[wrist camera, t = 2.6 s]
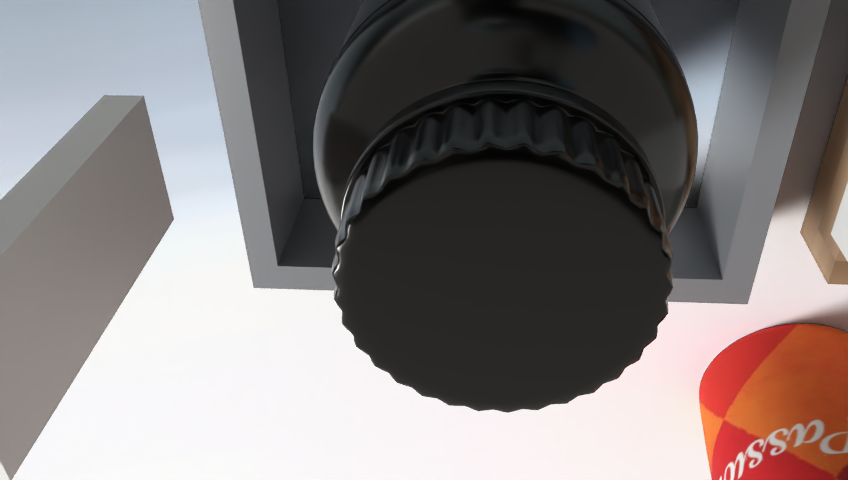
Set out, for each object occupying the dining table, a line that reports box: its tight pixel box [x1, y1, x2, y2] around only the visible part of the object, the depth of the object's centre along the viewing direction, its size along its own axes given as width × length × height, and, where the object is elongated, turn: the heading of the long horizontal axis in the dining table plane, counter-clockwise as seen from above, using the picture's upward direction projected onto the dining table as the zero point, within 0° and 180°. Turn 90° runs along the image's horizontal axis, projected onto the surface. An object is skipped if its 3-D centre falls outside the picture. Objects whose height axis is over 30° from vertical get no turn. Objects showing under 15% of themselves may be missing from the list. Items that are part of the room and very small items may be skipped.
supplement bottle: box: [313, 0, 698, 412], centre depth 16 cm, size 7×7×12 cm
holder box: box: [198, 0, 831, 304], centre depth 19 cm, size 14×14×4 cm
